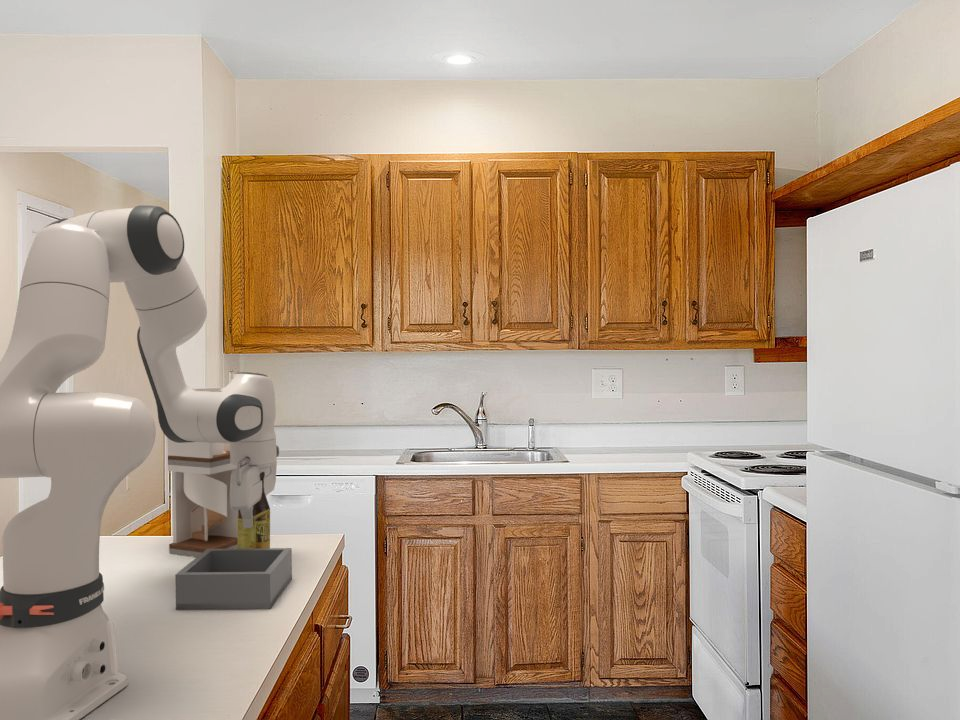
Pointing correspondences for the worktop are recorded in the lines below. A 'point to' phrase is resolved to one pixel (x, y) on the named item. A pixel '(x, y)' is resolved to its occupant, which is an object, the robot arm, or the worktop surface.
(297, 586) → the worktop surface
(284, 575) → the box
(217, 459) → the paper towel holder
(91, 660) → the robot arm
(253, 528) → the sauce bottle
